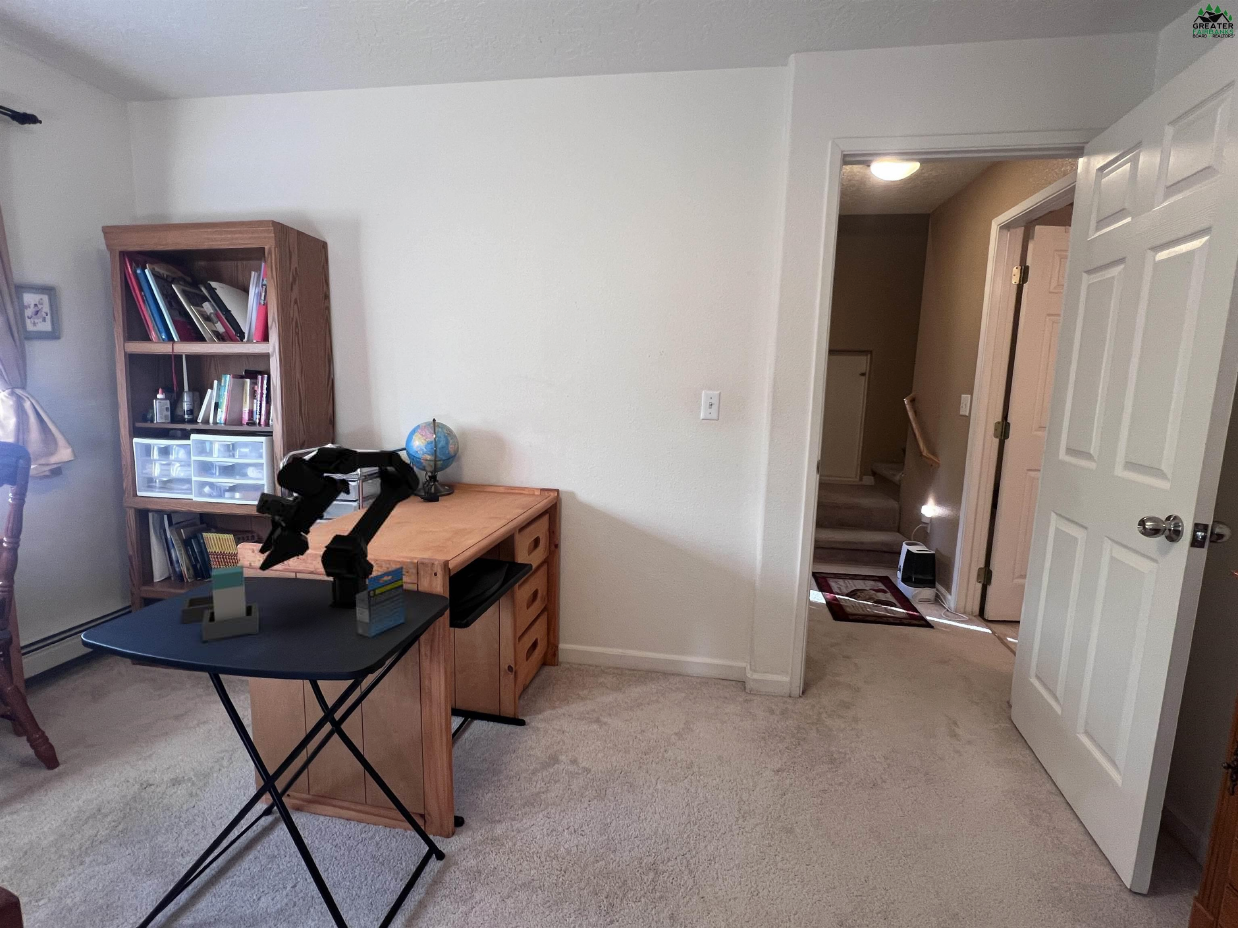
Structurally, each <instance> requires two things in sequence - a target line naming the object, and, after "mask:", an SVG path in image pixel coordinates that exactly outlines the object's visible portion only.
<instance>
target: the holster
mask: <svg viewBox="0 0 1238 928" xmlns="http://www.w3.org/2000/svg"><path fill="white" fill-rule="evenodd" d="M213 609H214V602H213V593H212V594H206V595H198V596H192V597H185V599H184V602H183V604H182V608H181V616H182V624H191V623H196V622H202V621H203V617H204V612H205V611H207V610H213Z"/></svg>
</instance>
